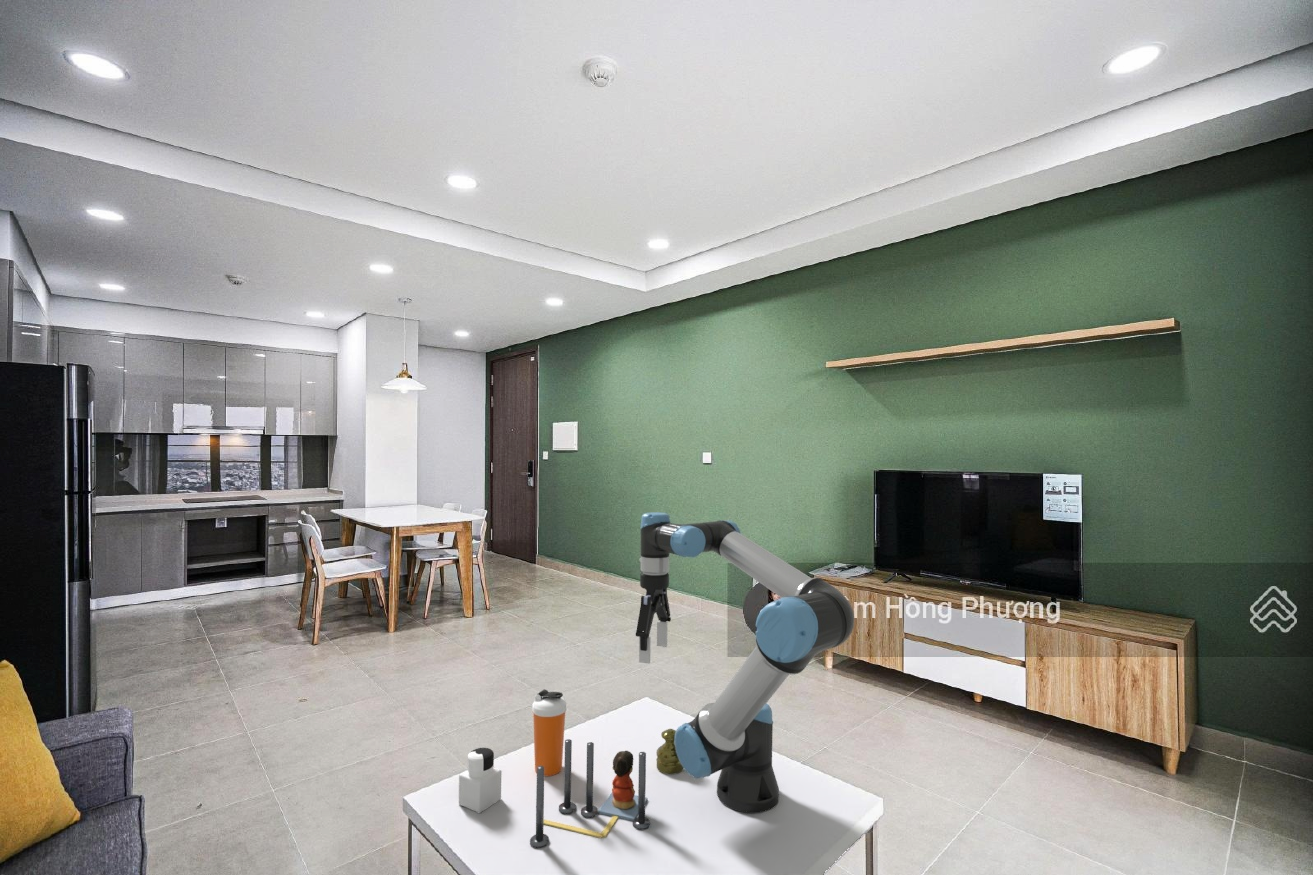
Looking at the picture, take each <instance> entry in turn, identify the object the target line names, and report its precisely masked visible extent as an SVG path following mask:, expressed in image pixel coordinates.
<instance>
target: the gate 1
mask: <svg viewBox="0 0 1313 875" xmlns="http://www.w3.org/2000/svg"><path fill="white" fill-rule="evenodd" d="M572 742H573V740H572V739H570V738H568V739H567V738H566V739H564V768H563V769H564V771H563V772H564V774H563V775H564V776H563V777H564V779H563V787H564V788H563V802H562V803H560V804H559V805H558V812H559V813H560V814H563V815H570V814H573V813H574V812H576V810H577V804H575V803H574V802H573V801H572V751H573V750H572V749H573V748H572V746H573V744H572ZM535 790H536V791H535V792H536V796H535V797H536V798H535V800H536V802H535V803H536V804H535V834H534V835H533V836H531V837H530V839H529V845H530V846H531V848H534V849H542V848H545V847H547V846H548V845H549V842H550V838H549V835H547V834H545V833H544V820H545V819H544V818H545V816H544V811H545V809H544V808H545V805H544V804H545V776H544V766H538V767H537V773H536V789H535Z"/></svg>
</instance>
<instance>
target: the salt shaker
mask: <svg viewBox="0 0 1313 875" xmlns="http://www.w3.org/2000/svg"><path fill="white" fill-rule="evenodd" d="M676 730H677V729H676ZM676 730H675V729H674V728H668V729H665V730H663V731H662V732H661V734H660V735H661V736H660V737H661V738H662V740H663V739H664V741H665V742H664V743H663V744H662V745H660V746H659V747H658V748H657V749H656V756H657V757H656V758H655V759H656V769H657V771H659V772H661V773H662V774H666V775H676V774H679V773H681V772H682V771H684V770H685V769H684V768H683V766H682V765H681V763H680V761H679V759H678V756H677V753H676V748H675V733H676Z"/></svg>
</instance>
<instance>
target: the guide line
mask: <svg viewBox="0 0 1313 875" xmlns="http://www.w3.org/2000/svg"><path fill="white" fill-rule="evenodd" d="M618 819H619V818H618V816H613V817H612V816H611V818H610V820H609V821H608V823H607V824H606V826H605V827H604V829H603V830H602V831H601V832H599V831H594V830H591V829H586V828H582V827H577V826H573V825H571V824H570V825H569V824H564V823H561V822H557V821H551V820H547V819H544V825H545V826H550V827H554V828H557V829H562V830H565V831H569V832H574V833H578V834H583V835H587V836H591V837H595V838H598V839H599V838H600V839H602V838H606V837H607V835H608V834H609V833H610V831H611V830H612V828H613V826H615V823H616V822H617V821H618ZM544 825H543V826H544Z"/></svg>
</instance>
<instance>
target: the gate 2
mask: <svg viewBox="0 0 1313 875" xmlns="http://www.w3.org/2000/svg"><path fill="white" fill-rule="evenodd" d="M594 749H595V744H594V742H593V741H592V742H591V741H590V742H587V743H586V784H585V785H586V791H585V792H586V796H585V806H582V808H581V809H580V815H581V817H583V818H586V819H591V818H595V817H597V815H598V814H599V813H598V810H599V808H598V807H597V806H595V805H594V764H595V763H594V762H595V761H594V755H595V754H594V753H595V752H594V751H595V750H594ZM646 763H647V753H646V752H645V751H640V752H638V792H637V793H638V795H637V796H638V816H637V818H635V819H634V820H633V821H632V827H633V828H634V829H635V830H639V831H645V830H647V829H649V828H650V827H651V820H650V818H648V817H647V816H646V803H645V797H646V791H647V790H646V779H647V778H646V777H647V776H646V774H647V770H646V768H647V764H646Z"/></svg>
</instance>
